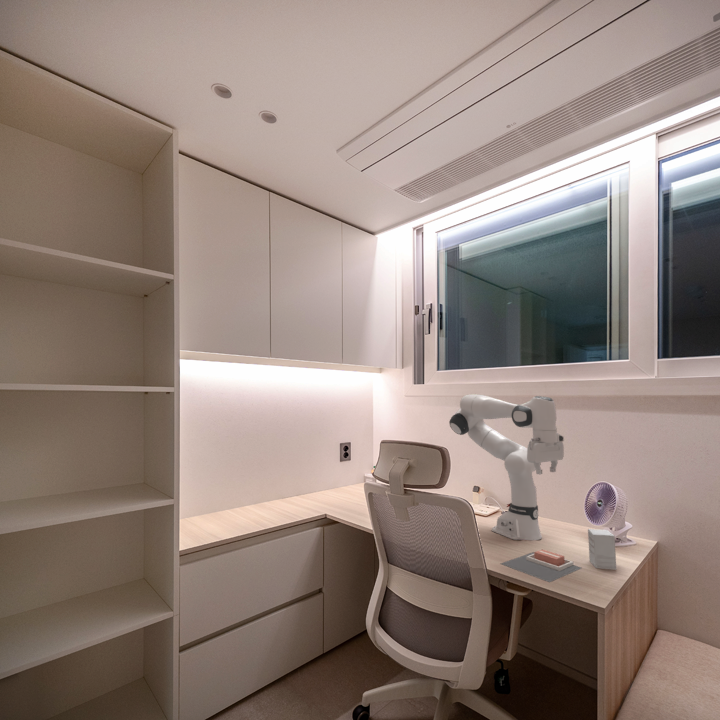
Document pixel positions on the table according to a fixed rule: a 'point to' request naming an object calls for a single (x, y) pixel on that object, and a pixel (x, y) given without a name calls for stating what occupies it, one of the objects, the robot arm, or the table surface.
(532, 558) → the frame
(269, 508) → the table surface
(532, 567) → the desk mat
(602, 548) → the supplement box
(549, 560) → the card deck
